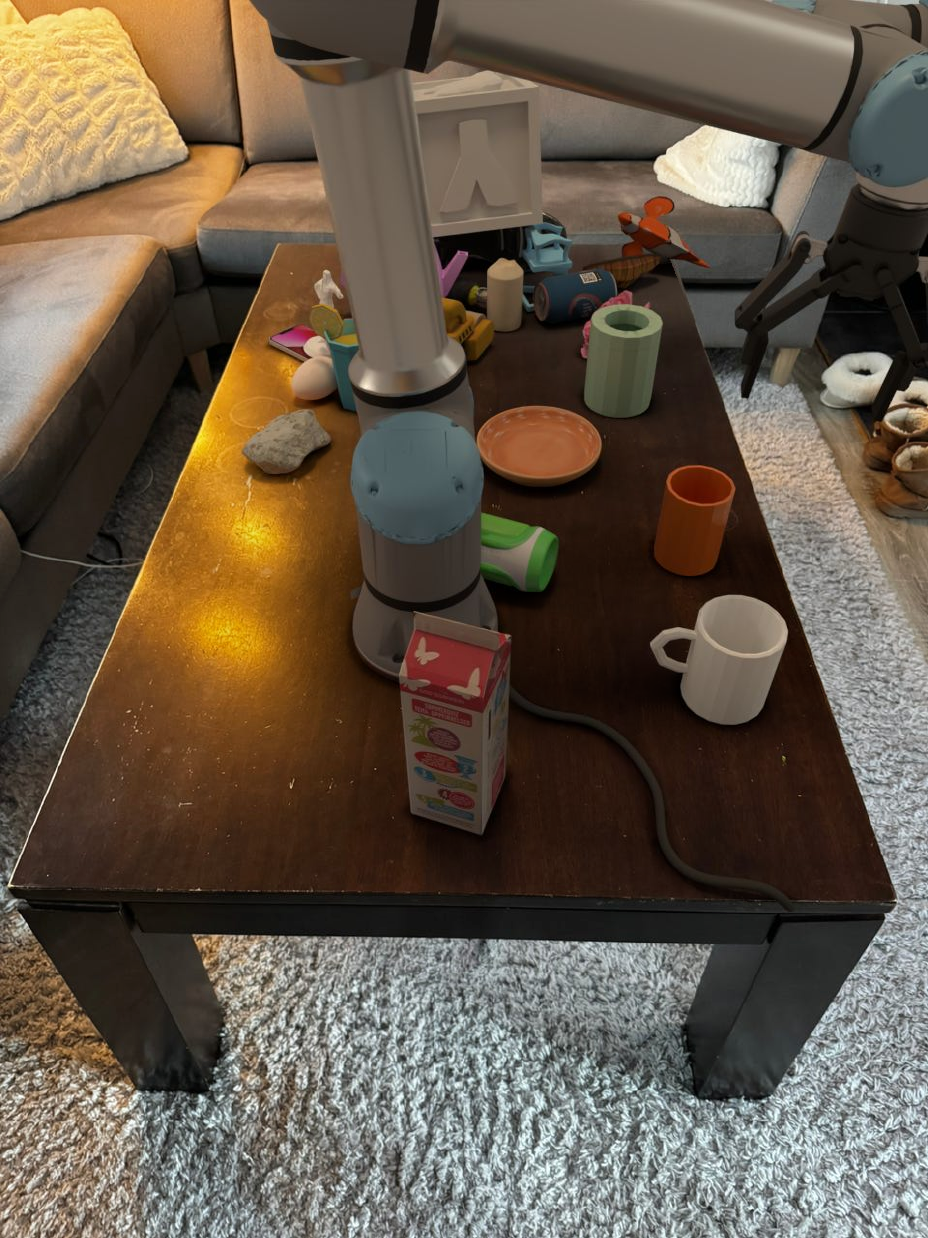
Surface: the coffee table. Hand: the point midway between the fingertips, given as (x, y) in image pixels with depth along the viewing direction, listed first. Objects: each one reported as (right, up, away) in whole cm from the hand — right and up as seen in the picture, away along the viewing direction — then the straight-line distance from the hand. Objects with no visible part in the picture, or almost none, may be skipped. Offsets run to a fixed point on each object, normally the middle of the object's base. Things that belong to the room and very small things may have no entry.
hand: (809, 403), depth 94 cm
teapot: (-45, +26, +52) cm, 74 cm away
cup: (-50, +8, +34) cm, 61 cm away
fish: (-1, +40, +56) cm, 68 cm away
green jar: (-14, +9, +34) cm, 38 cm away
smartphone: (-53, +15, +40) cm, 68 cm away
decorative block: (-35, +43, +53) cm, 76 cm away
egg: (-54, +14, +35) cm, 66 cm away
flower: (-14, +18, +43) cm, 49 cm away
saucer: (-26, -2, +24) cm, 35 cm away
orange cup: (-10, -15, +10) cm, 21 cm away
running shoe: (-33, +41, +58) cm, 79 cm away
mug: (-12, -30, -4) cm, 33 cm away
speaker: (-36, -15, +3) cm, 39 cm away
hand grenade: (-40, +32, +55) cm, 75 cm away
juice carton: (-36, -38, -12) cm, 54 cm away
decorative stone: (-59, -1, +25) cm, 64 cm away
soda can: (-13, +30, +50) cm, 60 cm away
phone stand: (-23, +30, +55) cm, 67 cm away
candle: (-30, +24, +50) cm, 63 cm away
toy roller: (-38, +17, +42) cm, 59 cm away
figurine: (-57, +18, +42) cm, 73 cm away
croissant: (-10, +38, +56) cm, 69 cm away
